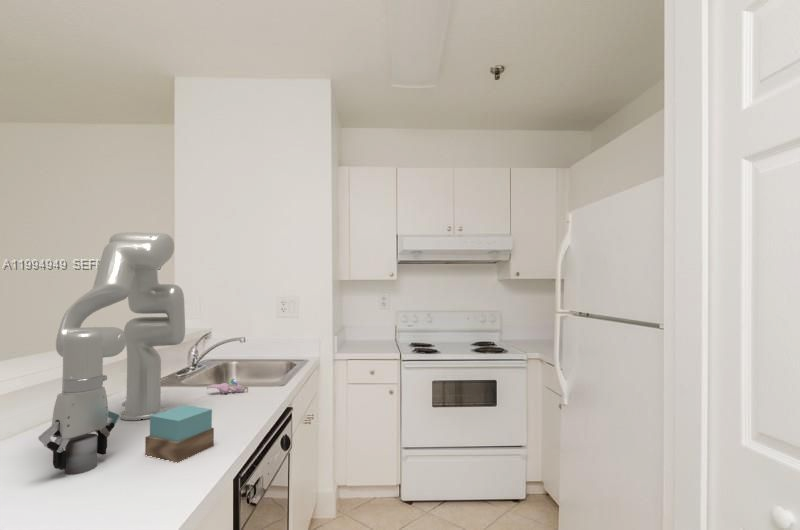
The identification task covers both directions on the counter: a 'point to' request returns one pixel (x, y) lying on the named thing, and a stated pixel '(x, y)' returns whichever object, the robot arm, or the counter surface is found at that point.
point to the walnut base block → (179, 446)
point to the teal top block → (180, 423)
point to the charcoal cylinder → (81, 454)
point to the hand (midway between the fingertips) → (81, 460)
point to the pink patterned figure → (226, 388)
